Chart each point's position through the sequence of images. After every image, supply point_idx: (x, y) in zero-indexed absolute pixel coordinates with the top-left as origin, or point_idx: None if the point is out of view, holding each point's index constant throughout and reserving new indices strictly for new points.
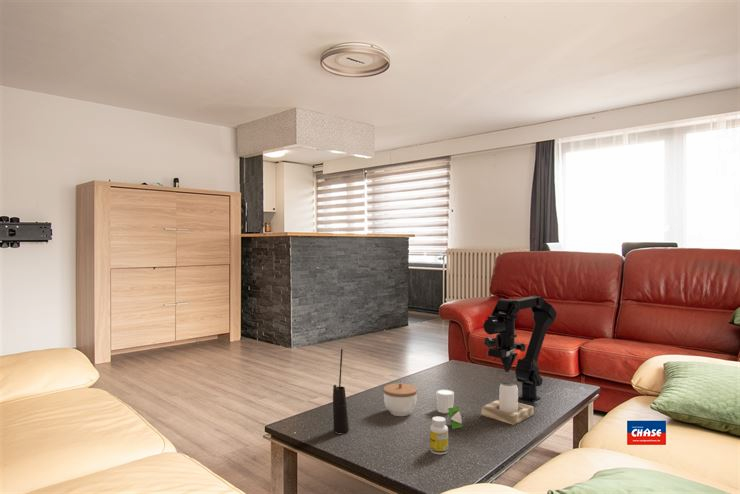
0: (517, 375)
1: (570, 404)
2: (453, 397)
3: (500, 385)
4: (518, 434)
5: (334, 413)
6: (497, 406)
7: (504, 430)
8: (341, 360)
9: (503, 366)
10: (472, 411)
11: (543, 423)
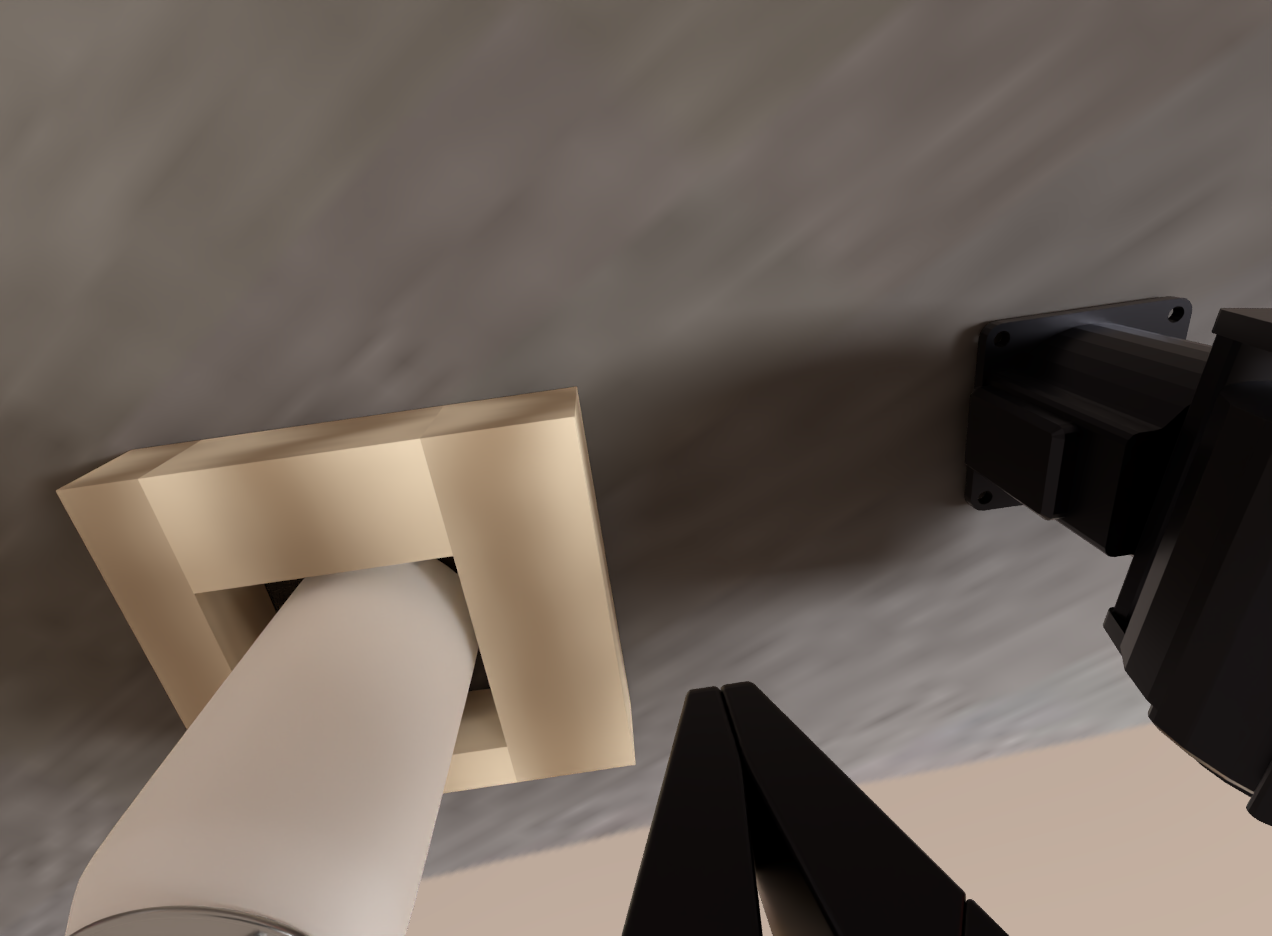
0: (1223, 443)
1: (1128, 708)
2: None
3: (75, 907)
4: None
5: None
6: (281, 579)
7: (114, 782)
8: None
9: (657, 817)
10: (87, 303)
11: (530, 829)
